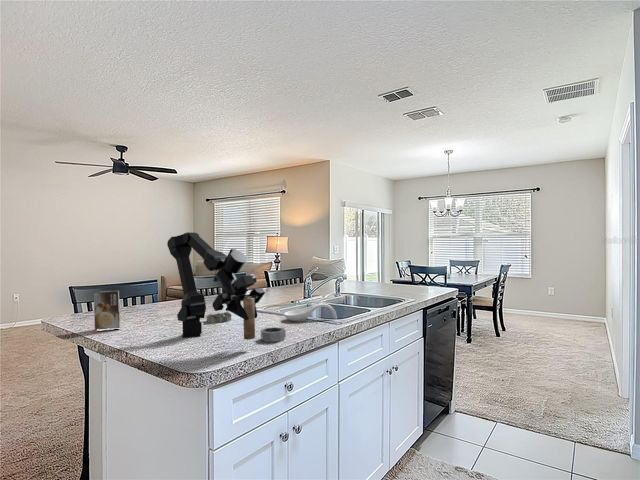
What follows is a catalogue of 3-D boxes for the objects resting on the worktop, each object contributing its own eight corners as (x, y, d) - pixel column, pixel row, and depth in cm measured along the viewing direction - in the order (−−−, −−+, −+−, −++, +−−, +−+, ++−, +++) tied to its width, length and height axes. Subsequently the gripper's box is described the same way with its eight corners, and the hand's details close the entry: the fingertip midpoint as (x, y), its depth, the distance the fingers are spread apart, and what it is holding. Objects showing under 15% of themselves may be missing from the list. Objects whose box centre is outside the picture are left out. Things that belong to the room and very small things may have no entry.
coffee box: (120, 327, 163) (120, 289, 163) (119, 330, 157) (119, 291, 157) (96, 329, 159) (95, 291, 159) (94, 332, 153) (93, 293, 153)
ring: (263, 343, 132) (263, 333, 132) (259, 337, 140) (259, 328, 140) (287, 340, 134) (287, 331, 134) (281, 335, 142) (281, 326, 142)
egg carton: (208, 324, 166) (208, 315, 166) (205, 321, 173) (205, 312, 173) (232, 321, 171) (232, 312, 171) (228, 318, 177) (228, 309, 177)
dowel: (244, 339, 122) (244, 299, 122) (243, 337, 125) (242, 298, 125) (255, 338, 123) (255, 298, 123) (254, 336, 127) (253, 297, 127)
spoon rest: (284, 324, 164) (284, 307, 164) (283, 318, 175) (283, 303, 175) (338, 321, 167) (338, 305, 167) (333, 316, 179) (333, 301, 179)
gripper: (217, 268, 119) (240, 306, 113) (261, 265, 134) (284, 298, 127) (202, 291, 124) (224, 329, 117) (246, 285, 139) (268, 319, 132)
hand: (252, 318), depth 123 cm, fingers closed on dowel, 4 cm apart
